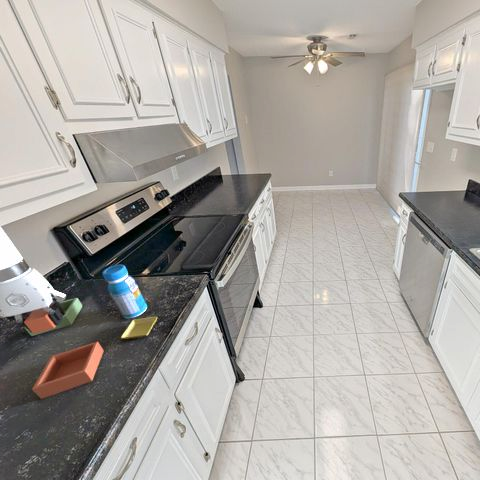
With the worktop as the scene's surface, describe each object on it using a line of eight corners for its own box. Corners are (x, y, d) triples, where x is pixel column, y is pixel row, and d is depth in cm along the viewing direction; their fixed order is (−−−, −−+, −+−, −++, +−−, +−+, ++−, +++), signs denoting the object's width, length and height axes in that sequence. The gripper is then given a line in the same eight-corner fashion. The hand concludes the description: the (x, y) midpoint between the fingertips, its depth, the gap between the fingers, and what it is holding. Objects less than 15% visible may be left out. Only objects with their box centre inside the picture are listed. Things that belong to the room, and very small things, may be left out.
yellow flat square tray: (159, 320, 94) (157, 316, 93) (149, 338, 86) (147, 334, 85) (135, 323, 93) (132, 319, 92) (122, 342, 86) (119, 338, 85)
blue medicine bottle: (127, 322, 94) (102, 279, 85) (119, 313, 98) (95, 271, 89) (151, 309, 100) (131, 267, 90) (143, 301, 104) (122, 260, 95)
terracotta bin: (41, 399, 69) (31, 389, 67) (59, 365, 79) (51, 355, 77) (92, 381, 73) (84, 371, 71) (104, 351, 83) (97, 341, 81)
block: (33, 334, 68) (23, 322, 66) (41, 323, 72) (32, 311, 70) (54, 328, 70) (45, 316, 68) (61, 317, 73) (52, 305, 71)
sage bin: (31, 336, 91) (24, 327, 88) (47, 315, 100) (40, 307, 98) (71, 325, 95) (65, 316, 92) (82, 306, 104) (77, 297, 102)
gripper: (-55, 290, 56) (-2, 347, 65) (42, 269, 62) (80, 323, 70) (-31, 273, 62) (15, 327, 71) (56, 255, 68) (89, 307, 77)
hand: (47, 324), depth 71 cm, fingers closed on block, 4 cm apart
